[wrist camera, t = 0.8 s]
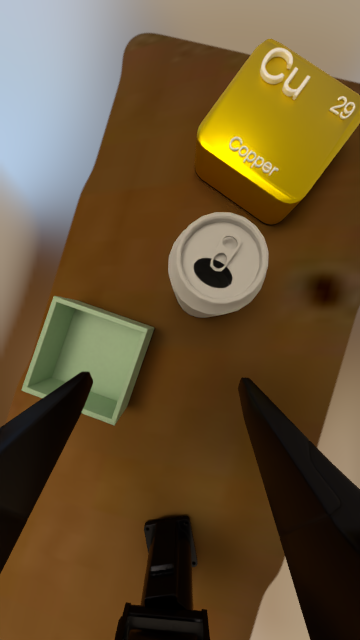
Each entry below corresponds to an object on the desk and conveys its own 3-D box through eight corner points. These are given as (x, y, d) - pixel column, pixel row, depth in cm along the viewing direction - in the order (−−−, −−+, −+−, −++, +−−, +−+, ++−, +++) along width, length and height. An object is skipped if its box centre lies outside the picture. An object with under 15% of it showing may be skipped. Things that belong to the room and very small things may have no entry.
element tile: (188, 172, 22) (189, 130, 17) (250, 87, 22) (269, 22, 17) (273, 231, 22) (298, 206, 17) (337, 146, 22) (381, 95, 17)
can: (166, 301, 22) (144, 278, 10) (191, 256, 22) (200, 179, 10) (211, 327, 22) (244, 334, 10) (237, 281, 22) (302, 233, 10)
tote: (127, 406, 22) (114, 425, 18) (50, 378, 23) (21, 390, 19) (154, 327, 22) (148, 329, 18) (77, 300, 23) (53, 295, 18)
